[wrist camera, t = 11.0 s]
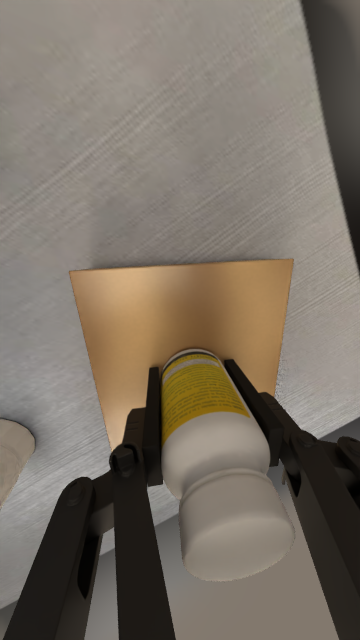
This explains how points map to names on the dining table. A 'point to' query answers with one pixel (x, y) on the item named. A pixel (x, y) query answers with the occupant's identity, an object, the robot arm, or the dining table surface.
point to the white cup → (13, 455)
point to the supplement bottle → (218, 472)
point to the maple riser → (178, 324)
